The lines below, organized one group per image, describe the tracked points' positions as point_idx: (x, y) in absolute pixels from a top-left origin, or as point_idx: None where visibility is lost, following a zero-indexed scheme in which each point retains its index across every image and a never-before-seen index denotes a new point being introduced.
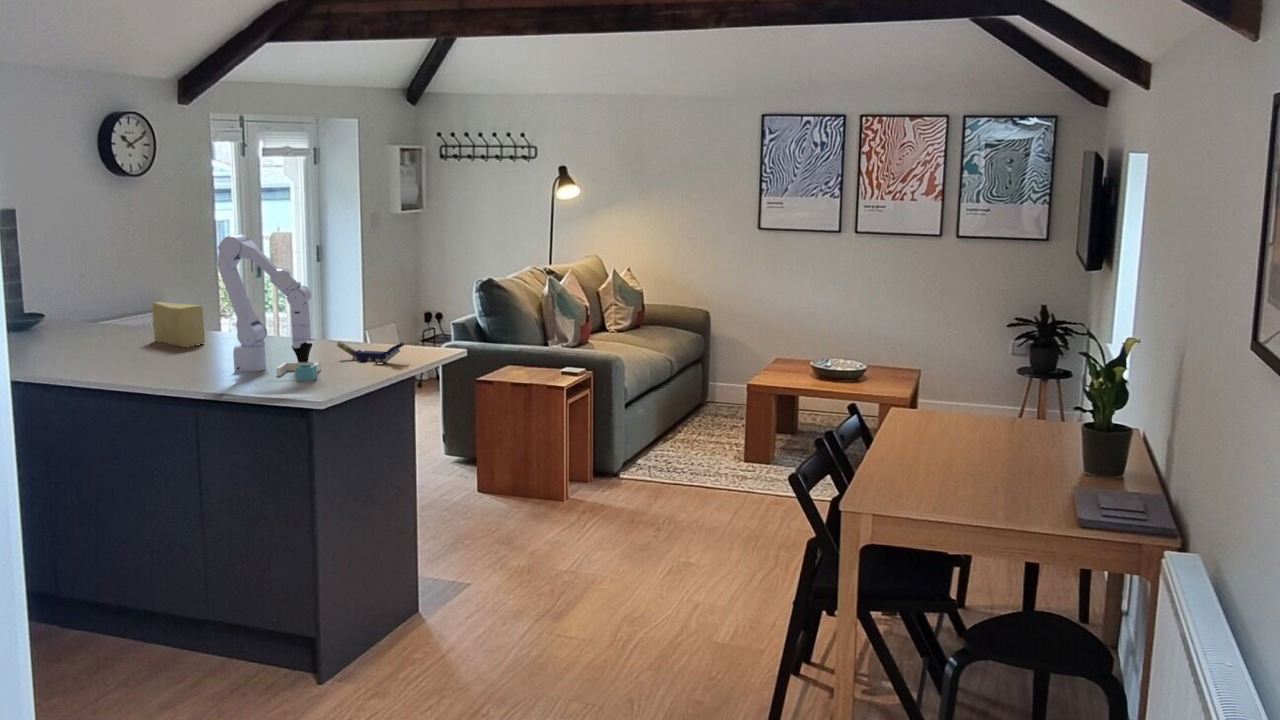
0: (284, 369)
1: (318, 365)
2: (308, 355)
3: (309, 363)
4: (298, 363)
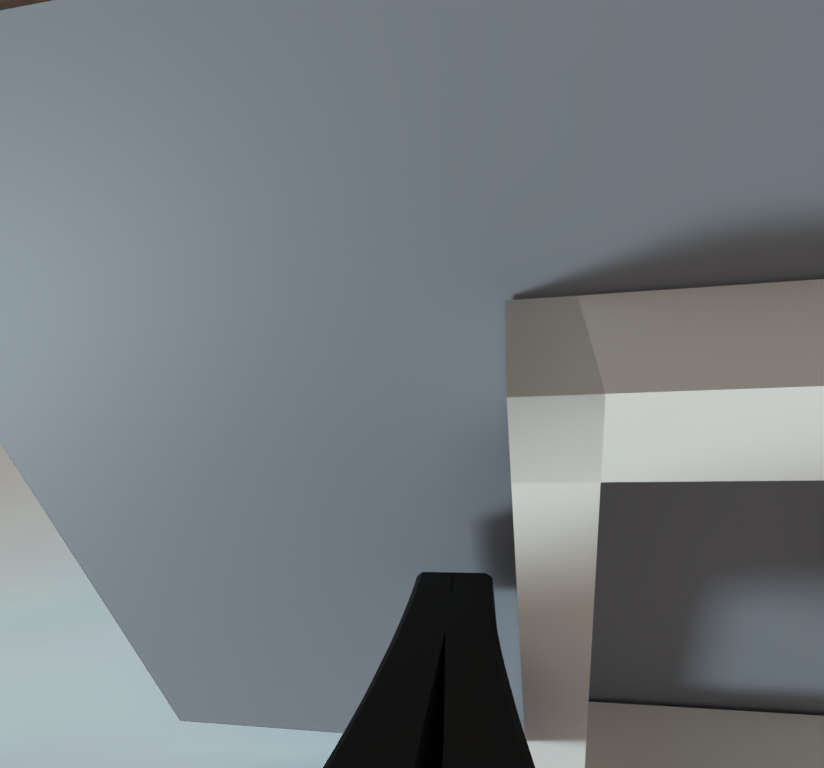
0: (744, 762)
1: (735, 355)
2: (377, 765)
3: (594, 580)
4: (586, 720)
